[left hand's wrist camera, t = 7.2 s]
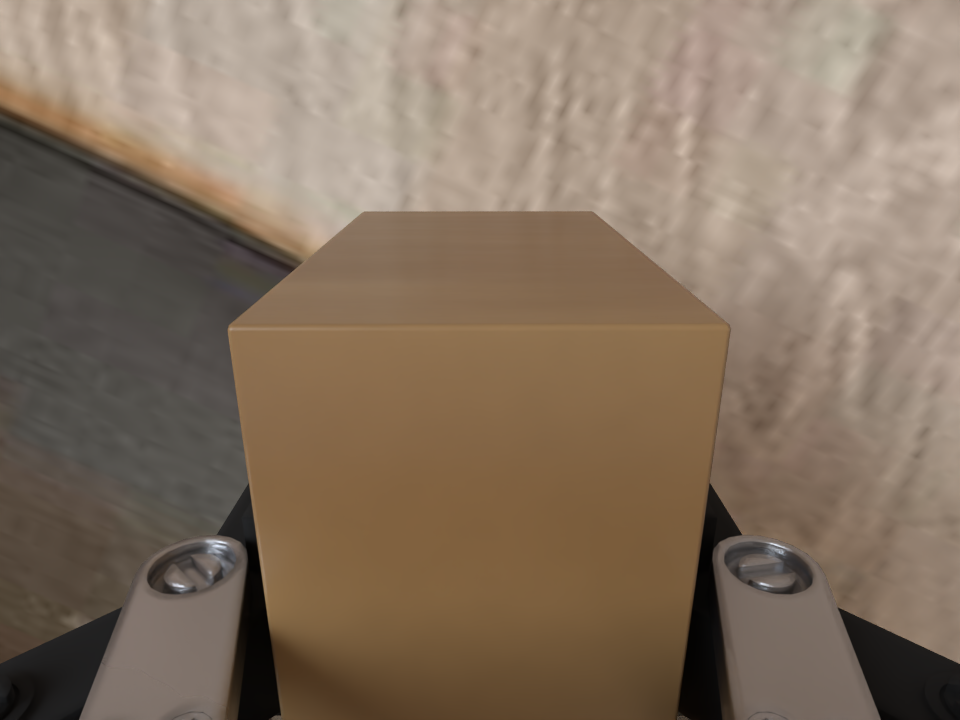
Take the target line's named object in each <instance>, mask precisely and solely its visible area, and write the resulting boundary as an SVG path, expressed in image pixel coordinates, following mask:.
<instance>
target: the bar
mask: <svg viewBox="0 0 960 720" xmlns="http://www.w3.org/2000/svg"><path fill="white" fill-rule="evenodd" d="M730 331H731V329H730V325H729V324H728V323H727V322H725V321H724V320H723V319H722V318H721V317H719V316H718V315H717V314H716V313H715V312H713V311H712V310H711V309H710V308H709V307H707V306H706V305H705V304H704V303H703V302H701V301H700V300H699V299H698V298H696V297H695V296H694V295H693V294H692V293H690V292H689V291H688V290H687V289H686V288H684V287H683V286H682V285H681V284H680V283H678V282H677V281H676V280H675V279H674V278H672V277H671V276H670V275H669V274H668V273H666V272H665V271H664V270H663V269H661V268H660V267H659V266H658V265H657V264H655V263H654V262H653V261H652V260H651V259H649V258H648V257H647V256H646V255H645V254H643V253H642V252H641V251H640V250H639V249H637V248H636V247H635V246H634V245H632V244H631V243H630V242H629V241H628V240H626V239H625V238H624V237H623V236H622V235H620V234H619V233H618V232H617V231H616V230H614V229H613V228H612V227H611V226H610V225H608V224H607V223H606V222H605V221H603V220H602V219H601V218H600V217H599V216H597V215H596V214H595V213H594V212H363V213H361V214H360V215H359V216H358V217H357V218H355V219H354V220H353V221H352V222H351V223H350V224H348V225H347V226H346V227H345V228H344V229H342V230H341V231H340V232H339V233H338V234H337V235H335V236H334V237H333V238H332V239H331V240H329V241H328V242H327V243H326V244H325V245H324V246H322V247H321V248H320V249H319V250H318V251H316V252H315V253H314V254H313V255H312V256H310V257H309V258H308V259H307V260H306V261H305V262H303V263H302V264H301V265H300V266H299V267H297V268H296V269H295V270H294V271H293V272H292V273H290V274H289V275H288V276H287V277H286V278H284V279H283V280H282V281H281V282H280V283H279V284H277V285H276V286H275V287H274V288H273V289H271V290H270V291H269V292H268V293H267V294H265V295H264V296H263V297H262V298H261V299H260V300H258V301H257V302H256V303H255V304H254V305H252V306H251V307H250V308H249V309H248V310H247V311H245V312H244V313H243V314H242V315H241V316H239V317H238V318H237V319H236V320H235V321H234V322H232V323H231V324H230V325H229V327H228V336H229V343H230V350H231V358H232V365H233V372H234V379H235V386H236V394H237V401H238V408H239V415H240V422H241V430H242V437H243V444H244V451H245V458H246V465H247V473H248V480H249V487H250V494H251V501H252V509H253V516H254V523H255V530H256V537H257V544H258V552H259V559H260V566H261V573H262V580H263V588H264V595H265V602H266V609H267V616H268V623H269V631H270V638H271V645H272V652H273V659H274V667H275V674H276V681H277V688H278V695H279V702H280V710H281V717H282V720H677V714H678V707H679V700H680V692H681V685H682V678H683V671H684V663H685V656H686V649H687V642H688V634H689V627H690V620H691V613H692V606H693V598H694V591H695V584H696V577H697V569H698V562H699V555H700V548H701V540H702V533H703V526H704V519H705V512H706V504H707V497H708V490H709V483H710V475H711V468H712V461H713V454H714V446H715V439H716V432H717V425H718V417H719V410H720V403H721V396H722V389H723V381H724V374H725V367H726V360H727V352H728V345H729V338H730Z"/></svg>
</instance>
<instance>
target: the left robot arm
mask: <svg viewBox="0 0 960 720" xmlns="http://www.w3.org/2000/svg"><path fill="white" fill-rule="evenodd" d="M275 715H281V710H280V702H279V695H278V688H277V681H276V674H275V667H274V659H273V652H272V645H271V638H270V631H269V623H268V616H267V609H266V602H265V595H264V588H263V580H262V573H261V566H260V559H259V552H258V544H257V537H256V530H255V523H254V516H253V509H252V501H251V494H250V487H249V484H248V486H247V487H246V489H245V490H244V492H243V494H242V495H241V497H240V498H239V500H238V502H237V503H236V505H235V506H234V508H233V510H232V511H231V513H230V514H229V516H228V518H227V519H226V521H225V522H224V524H223V526H222V527H221V529H220V531H219V532H218V534H217V535H206V536H197V537H192V538H187V539H183V540H181V541H178V542H175V543H173V544H170V545H167V546H166V547H164V548H162V549H161V550H159V551H157V552H155V553H154V554H152V555H151V556H150V557H149V558H148V559H147V560H146V561H144V562H143V563H142V564H141V566H140V567H139V569H138V571H137V572H136V574H135V576H134V579H133V581H132V584H131V586H130V589H129V592H128V594H127V597H126V599H125V602H124V605H123V607H121V608H119V609H117V610H115V611H113V612H111V613H109V614H106V615H104V616H102V617H100V618H98V619H96V620H94V621H91V622H89V623H87V624H85V625H83V626H81V627H78V628H76V629H74V630H72V631H70V632H68V633H66V634H63V635H61V636H59V637H57V638H55V639H53V640H51V641H48V642H46V643H44V644H42V645H40V646H38V647H35V648H33V649H31V650H29V651H27V652H25V653H23V654H20V655H18V656H16V657H14V658H12V659H10V660H8V661H5V662H3V663H1V664H0V720H272V719H271V718H272V717H273V716H275ZM677 716H686V717H687V718H689V719H688V720H960V664H958V663H956V662H954V661H952V660H950V659H947V658H945V657H943V656H941V655H939V654H937V653H935V652H932V651H930V650H928V649H926V648H924V647H922V646H919V645H917V644H915V643H913V642H911V641H909V640H907V639H904V638H902V637H900V636H898V635H896V634H894V633H891V632H889V631H887V630H885V629H883V628H881V627H879V626H876V625H874V624H872V623H870V622H868V621H866V620H863V619H861V618H859V617H857V616H855V615H853V614H851V613H848V612H846V611H844V610H842V609H840V608H838V607H837V605H836V602H835V599H834V597H833V594H832V592H831V589H830V586H829V584H828V581H827V579H826V576H825V574H824V572H823V571H822V569H821V567H820V566H819V564H818V563H817V562H816V561H814V560H813V559H812V558H811V557H810V556H809V555H808V554H806V553H805V552H803V551H801V550H799V549H798V548H796V547H794V546H793V545H790V544H787V543H785V542H782V541H779V540H777V539H773V538H768V537H763V536H754V535H742V534H741V532H740V531H739V529H738V527H737V526H736V524H735V523H734V521H733V519H732V518H731V516H730V515H729V513H728V511H727V510H726V508H725V507H724V505H723V503H722V502H721V500H720V499H719V497H718V495H717V494H716V492H715V491H714V489H713V487H712V486H711V484H710V483H709V490H708V497H707V504H706V512H705V519H704V526H703V533H702V540H701V548H700V555H699V562H698V569H697V577H696V584H695V591H694V598H693V606H692V613H691V620H690V627H689V634H688V642H687V649H686V656H685V663H684V671H683V678H682V685H681V692H680V700H679V707H678V714H677Z"/></svg>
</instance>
